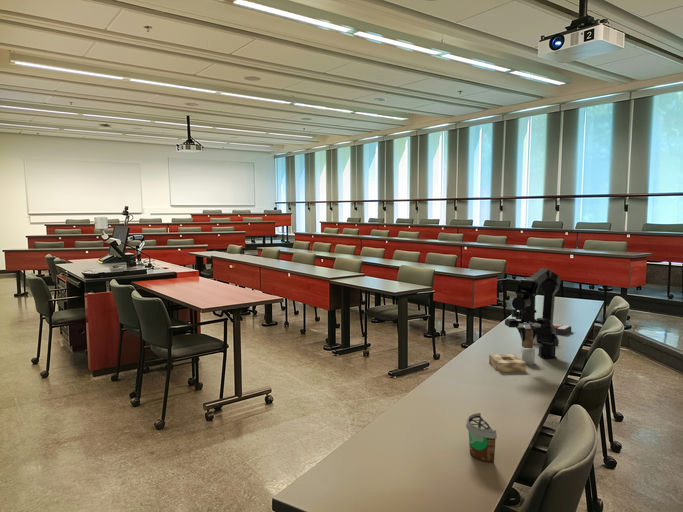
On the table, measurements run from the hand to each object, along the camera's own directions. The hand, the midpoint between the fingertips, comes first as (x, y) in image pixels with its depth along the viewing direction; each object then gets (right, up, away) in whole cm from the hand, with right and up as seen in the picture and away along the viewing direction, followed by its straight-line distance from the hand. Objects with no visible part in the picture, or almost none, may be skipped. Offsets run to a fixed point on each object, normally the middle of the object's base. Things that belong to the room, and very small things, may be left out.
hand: (527, 341), depth 204 cm
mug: (+23, -9, +43) cm, 50 cm away
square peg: (0, -3, 0) cm, 3 cm away
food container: (-43, -20, -70) cm, 85 cm away
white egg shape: (+4, -12, +10) cm, 16 cm away
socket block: (-7, -12, +5) cm, 15 cm away
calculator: (+42, -7, +64) cm, 77 cm away
